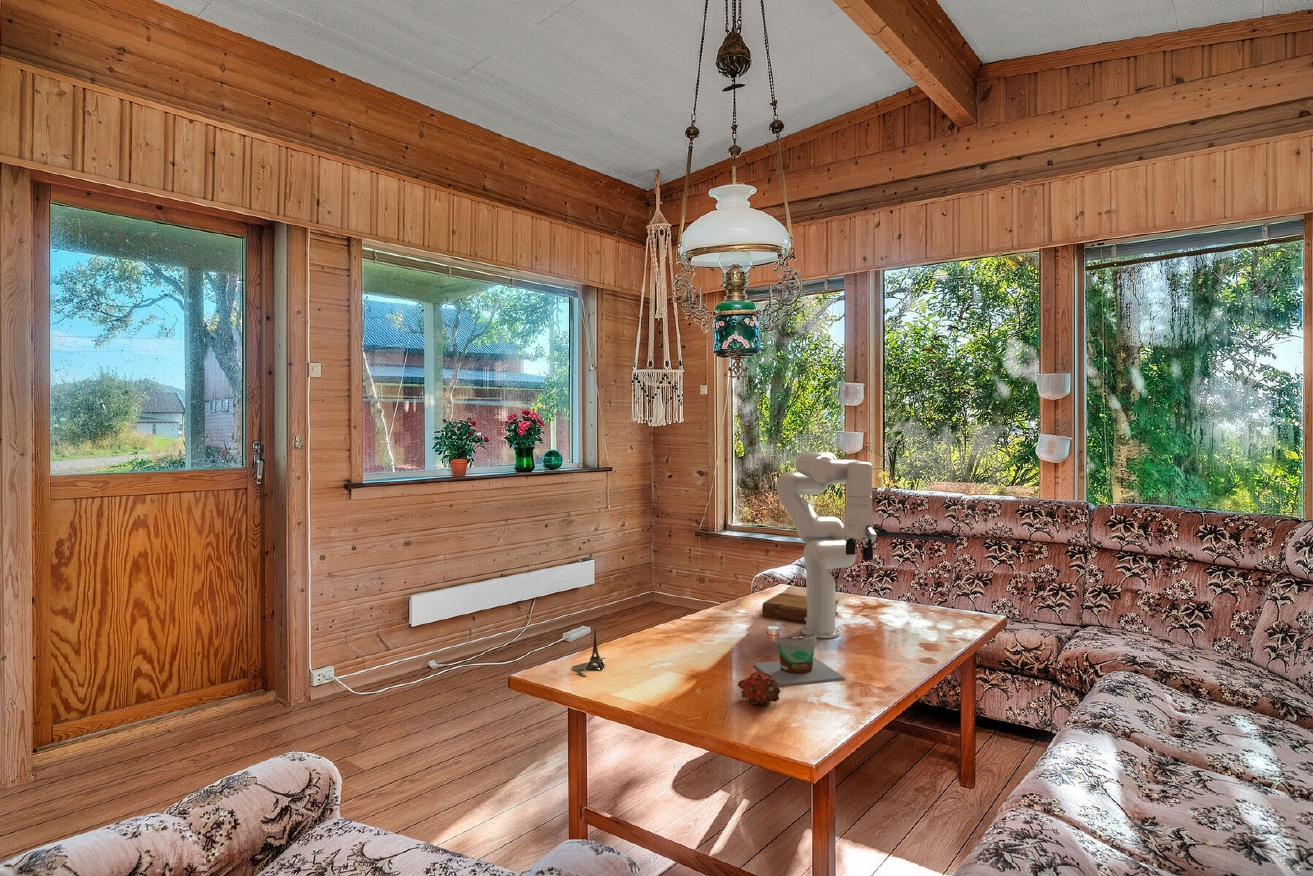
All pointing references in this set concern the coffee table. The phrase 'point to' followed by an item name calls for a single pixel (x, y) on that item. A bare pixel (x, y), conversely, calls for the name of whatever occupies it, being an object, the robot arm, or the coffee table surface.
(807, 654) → the food container
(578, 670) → the eiffel tower figurine
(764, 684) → the dragon fruit
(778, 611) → the brown flat wooden box
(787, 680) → the mat
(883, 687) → the coffee table surface
